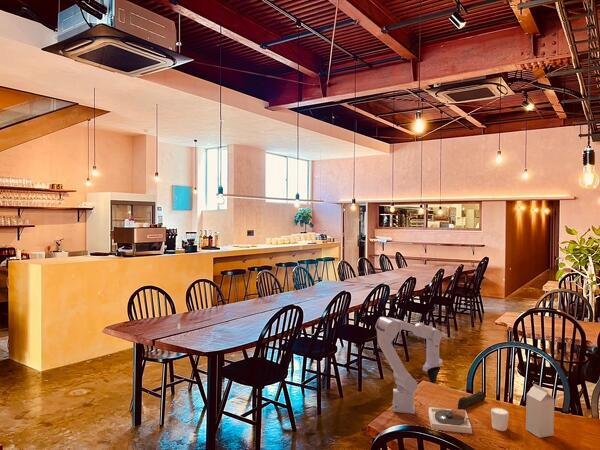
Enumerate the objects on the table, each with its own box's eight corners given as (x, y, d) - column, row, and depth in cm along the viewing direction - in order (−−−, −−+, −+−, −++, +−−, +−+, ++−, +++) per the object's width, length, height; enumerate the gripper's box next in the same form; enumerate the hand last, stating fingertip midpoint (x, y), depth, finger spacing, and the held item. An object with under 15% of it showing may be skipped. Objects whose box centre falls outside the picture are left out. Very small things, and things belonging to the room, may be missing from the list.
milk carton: (539, 438, 175) (540, 391, 174) (525, 429, 182) (526, 384, 181) (553, 435, 177) (554, 389, 176) (539, 427, 184) (540, 382, 183)
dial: (438, 424, 182) (438, 415, 182) (431, 411, 194) (432, 403, 194) (469, 426, 181) (469, 417, 181) (460, 412, 193) (461, 404, 193)
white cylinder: (509, 426, 185) (509, 409, 184) (507, 433, 179) (508, 416, 178) (491, 421, 188) (491, 405, 188) (489, 428, 182) (489, 412, 182)
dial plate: (431, 429, 182) (431, 423, 181) (428, 411, 197) (428, 406, 197) (472, 433, 178) (472, 427, 178) (466, 415, 194) (466, 410, 194)
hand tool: (477, 398, 212) (477, 388, 212) (485, 401, 209) (485, 391, 209) (452, 407, 202) (453, 397, 202) (460, 411, 198) (460, 401, 198)
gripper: (432, 359, 196) (432, 389, 196) (448, 351, 206) (448, 380, 206) (418, 355, 201) (418, 384, 201) (434, 348, 211) (434, 376, 211)
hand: (432, 382), depth 204 cm, fingers closed
